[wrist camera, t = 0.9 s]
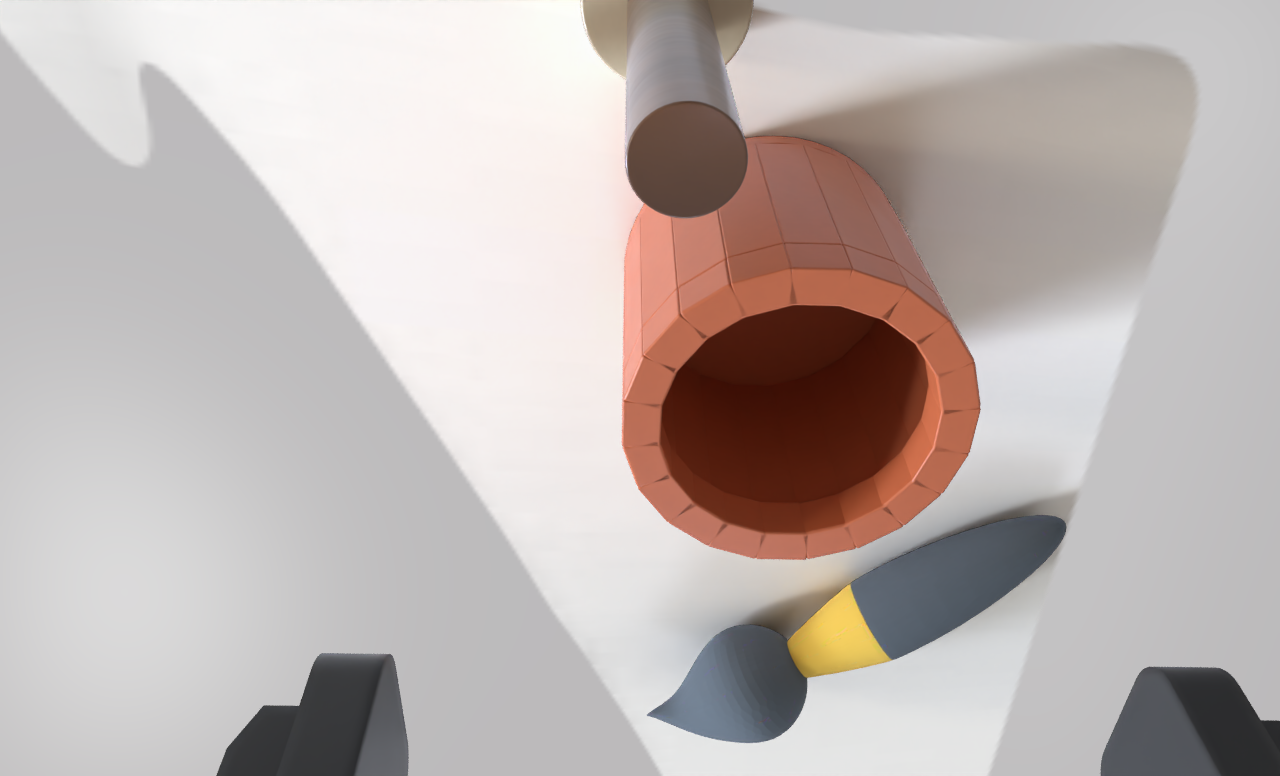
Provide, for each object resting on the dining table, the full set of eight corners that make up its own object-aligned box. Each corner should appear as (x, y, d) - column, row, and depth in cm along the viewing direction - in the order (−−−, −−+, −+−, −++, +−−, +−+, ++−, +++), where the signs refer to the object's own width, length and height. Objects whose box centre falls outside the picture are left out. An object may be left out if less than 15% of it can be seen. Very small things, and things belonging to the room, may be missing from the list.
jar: (627, 131, 34) (626, 263, 26) (923, 138, 35) (1016, 273, 26) (621, 381, 40) (619, 557, 31) (876, 386, 40) (942, 563, 32)
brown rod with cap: (585, -114, 30) (549, 19, 17) (747, -109, 30) (838, 27, 17) (585, 51, 33) (554, 279, 19) (734, 55, 33) (805, 285, 20)
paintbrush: (1014, 447, 42) (1056, 528, 37) (1067, 520, 44) (1112, 605, 40) (632, 654, 48) (632, 743, 44) (694, 709, 50) (700, 799, 46)
